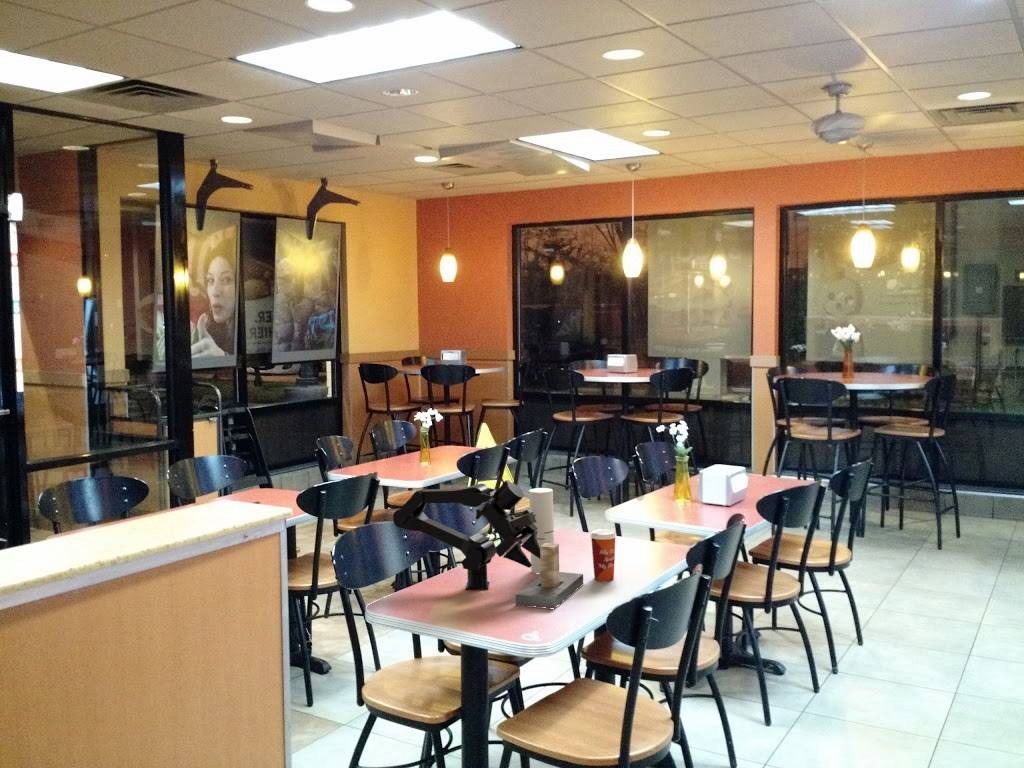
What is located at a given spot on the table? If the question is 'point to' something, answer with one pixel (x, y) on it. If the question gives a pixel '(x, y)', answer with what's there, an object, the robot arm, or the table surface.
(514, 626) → the table surface
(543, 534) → the cylindrical container
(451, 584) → the table surface
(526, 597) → the socket plate
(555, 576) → the maple peg
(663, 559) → the table surface
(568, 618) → the table surface
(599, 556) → the paper cup
